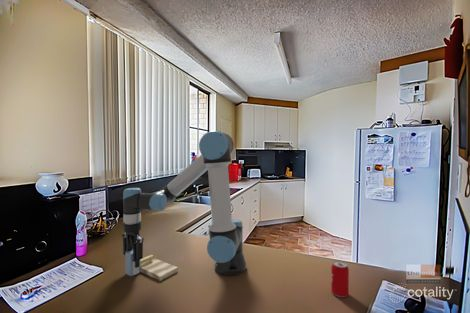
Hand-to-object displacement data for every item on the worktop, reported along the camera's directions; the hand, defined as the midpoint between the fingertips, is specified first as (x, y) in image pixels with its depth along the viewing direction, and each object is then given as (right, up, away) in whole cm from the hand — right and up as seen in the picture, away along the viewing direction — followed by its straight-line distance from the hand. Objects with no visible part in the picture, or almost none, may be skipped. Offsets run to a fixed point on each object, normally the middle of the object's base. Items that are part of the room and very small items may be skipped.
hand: (132, 272), depth 113 cm
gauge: (+2, 0, +3) cm, 4 cm away
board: (+9, 0, +3) cm, 10 cm away
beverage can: (+88, -1, -16) cm, 90 cm away
